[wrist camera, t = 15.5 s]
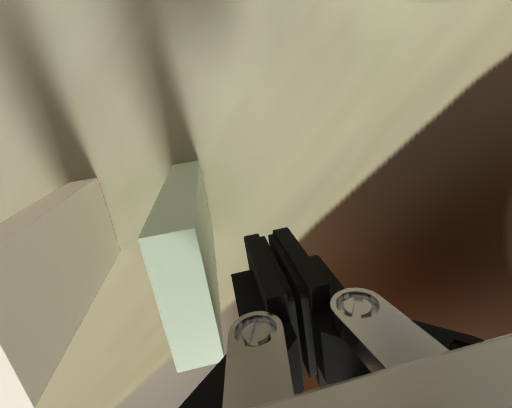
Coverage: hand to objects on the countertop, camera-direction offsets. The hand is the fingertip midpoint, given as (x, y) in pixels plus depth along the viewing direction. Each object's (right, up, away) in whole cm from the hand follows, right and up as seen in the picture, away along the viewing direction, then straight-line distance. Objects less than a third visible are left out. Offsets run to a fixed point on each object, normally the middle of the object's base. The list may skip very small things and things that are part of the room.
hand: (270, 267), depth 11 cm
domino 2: (-5, +3, +8) cm, 10 cm away
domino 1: (-11, +2, +8) cm, 13 cm away
